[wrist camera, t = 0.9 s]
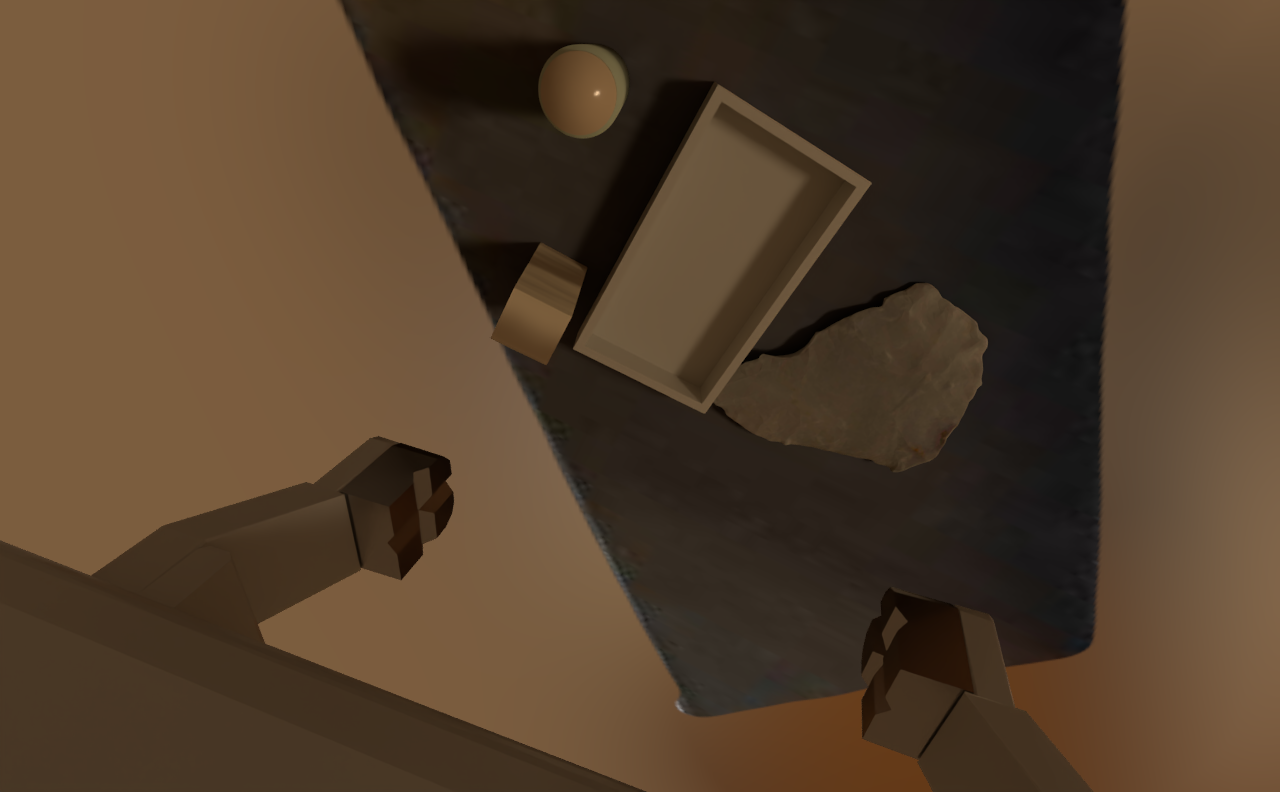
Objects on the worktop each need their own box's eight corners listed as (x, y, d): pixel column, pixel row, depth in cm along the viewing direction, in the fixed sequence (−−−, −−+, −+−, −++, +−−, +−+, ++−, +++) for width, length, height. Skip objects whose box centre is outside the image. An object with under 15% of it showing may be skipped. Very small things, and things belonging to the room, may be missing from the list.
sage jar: (581, 29, 43) (557, 25, 33) (641, 67, 45) (636, 75, 34) (552, 96, 46) (521, 112, 35) (610, 131, 47) (597, 156, 36)
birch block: (540, 242, 51) (514, 287, 42) (587, 267, 52) (571, 316, 43) (520, 285, 54) (490, 338, 44) (565, 309, 55) (546, 365, 45)
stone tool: (989, 272, 53) (707, 291, 54) (1010, 284, 50) (712, 304, 51) (951, 455, 62) (710, 470, 63) (967, 475, 59) (714, 489, 60)
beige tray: (714, 81, 45) (718, 84, 42) (858, 174, 48) (871, 183, 45) (577, 332, 56) (573, 349, 53) (702, 394, 59) (704, 413, 56)
